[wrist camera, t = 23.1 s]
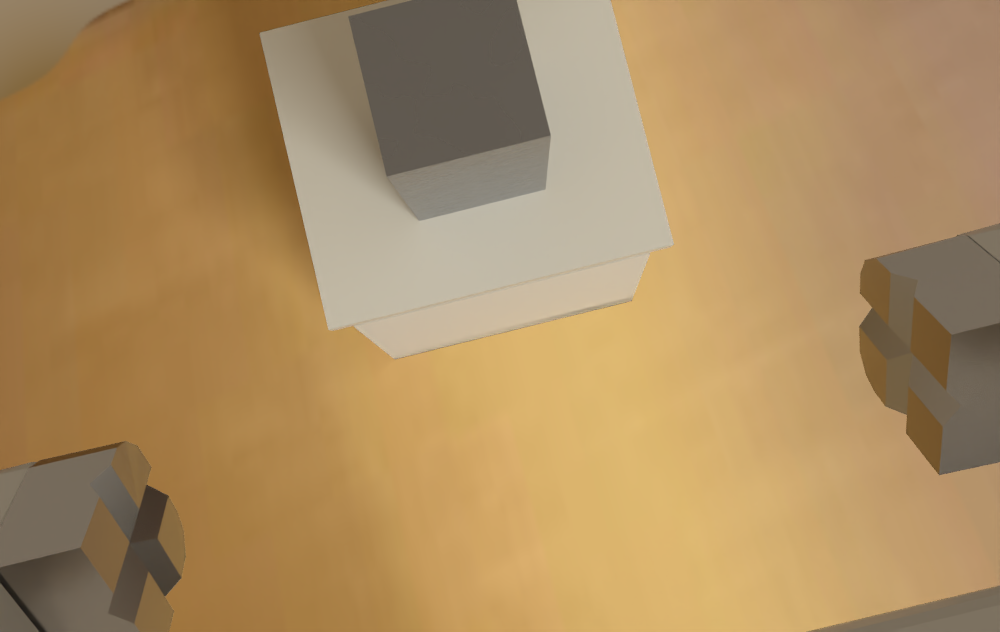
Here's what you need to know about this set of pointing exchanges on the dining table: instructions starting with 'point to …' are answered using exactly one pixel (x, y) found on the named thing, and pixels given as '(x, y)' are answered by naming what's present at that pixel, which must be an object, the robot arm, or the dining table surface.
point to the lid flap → (479, 230)
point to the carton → (507, 308)
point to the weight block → (453, 102)
